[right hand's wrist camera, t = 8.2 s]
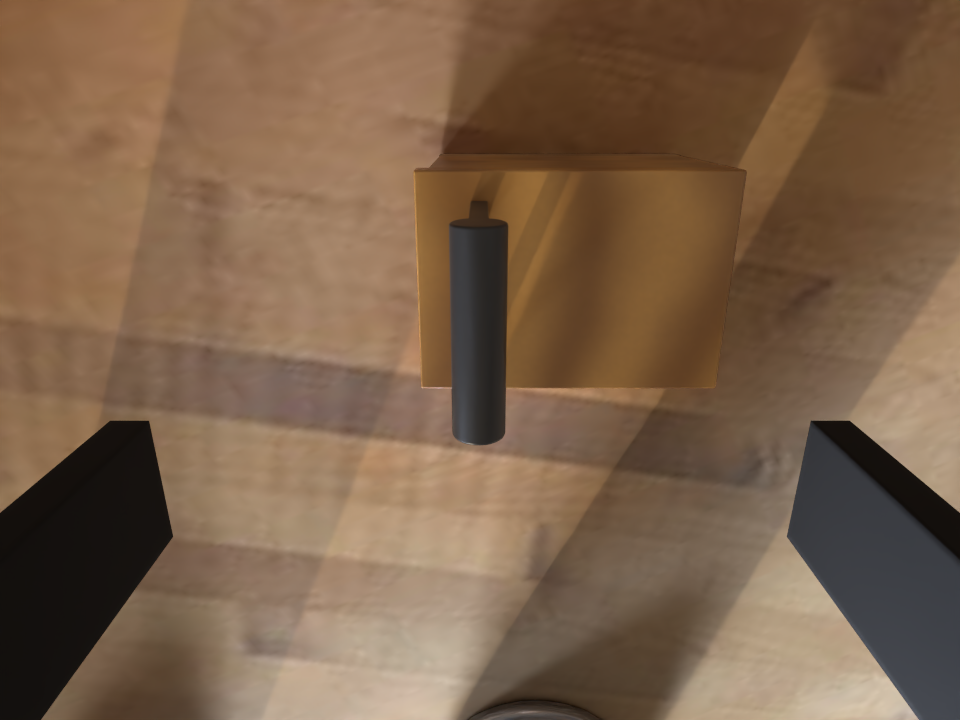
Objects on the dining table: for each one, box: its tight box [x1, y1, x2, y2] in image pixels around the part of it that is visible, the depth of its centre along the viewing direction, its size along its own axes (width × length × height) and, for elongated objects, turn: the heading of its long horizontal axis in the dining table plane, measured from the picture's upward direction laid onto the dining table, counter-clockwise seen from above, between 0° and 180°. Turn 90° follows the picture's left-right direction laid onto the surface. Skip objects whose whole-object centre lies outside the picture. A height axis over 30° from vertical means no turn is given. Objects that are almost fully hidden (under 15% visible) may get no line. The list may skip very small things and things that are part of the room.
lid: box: [414, 168, 747, 445], centre depth 24 cm, size 13×10×8 cm
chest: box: [430, 154, 733, 168], centre depth 32 cm, size 13×10×9 cm
